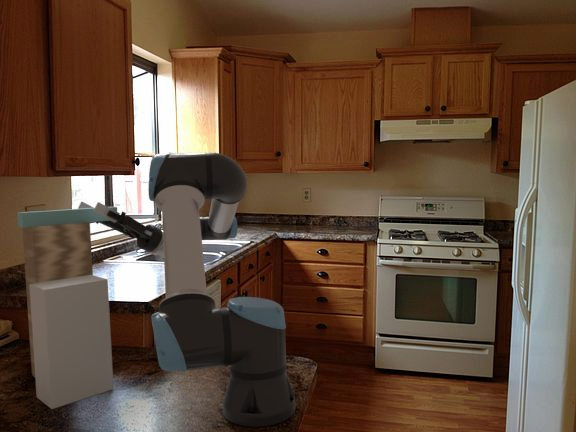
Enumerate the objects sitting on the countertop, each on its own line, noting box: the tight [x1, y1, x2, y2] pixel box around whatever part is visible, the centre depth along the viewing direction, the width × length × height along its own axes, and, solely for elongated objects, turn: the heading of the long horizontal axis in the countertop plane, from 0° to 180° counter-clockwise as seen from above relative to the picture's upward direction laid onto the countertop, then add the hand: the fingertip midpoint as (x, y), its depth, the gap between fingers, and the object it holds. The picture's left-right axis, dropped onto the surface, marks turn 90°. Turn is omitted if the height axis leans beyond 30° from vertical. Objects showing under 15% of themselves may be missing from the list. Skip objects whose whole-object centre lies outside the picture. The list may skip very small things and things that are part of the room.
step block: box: [29, 275, 114, 410], centre depth 117 cm, size 14×9×26 cm, turn 135°
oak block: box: [21, 222, 94, 378], centre depth 130 cm, size 14×7×38 cm, turn 135°
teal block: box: [16, 206, 118, 228], centre depth 131 cm, size 24×4×4 cm, turn 135°
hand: (87, 206), depth 134 cm, fingers open, 9 cm apart
